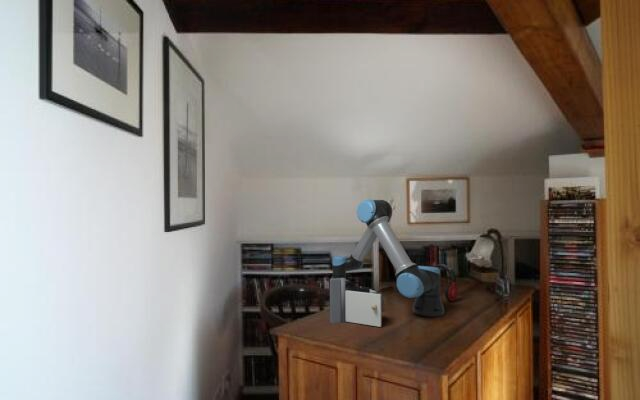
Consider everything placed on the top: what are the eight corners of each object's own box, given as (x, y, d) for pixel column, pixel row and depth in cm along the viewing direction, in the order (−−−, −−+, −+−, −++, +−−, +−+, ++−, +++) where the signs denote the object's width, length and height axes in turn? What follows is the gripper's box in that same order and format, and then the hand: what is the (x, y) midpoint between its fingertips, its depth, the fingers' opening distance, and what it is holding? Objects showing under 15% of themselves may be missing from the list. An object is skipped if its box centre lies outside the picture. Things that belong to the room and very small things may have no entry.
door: (344, 322, 168) (343, 291, 168) (346, 320, 171) (346, 290, 171) (379, 327, 160) (379, 295, 160) (381, 326, 163) (381, 294, 163)
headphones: (460, 301, 207) (460, 265, 207) (450, 304, 200) (450, 267, 201) (434, 295, 220) (433, 261, 221) (423, 297, 214) (423, 263, 215)
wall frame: (331, 323, 168) (331, 279, 168) (329, 322, 170) (329, 278, 170) (346, 322, 170) (346, 278, 170) (344, 320, 172) (343, 277, 173)
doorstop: (370, 298, 183) (385, 286, 168) (374, 316, 178) (391, 305, 164) (353, 299, 180) (368, 287, 165) (358, 318, 175) (372, 307, 161)
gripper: (366, 292, 204) (386, 301, 184) (324, 296, 195) (340, 306, 175) (366, 278, 204) (386, 286, 184) (324, 282, 195) (340, 290, 175)
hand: (364, 296), depth 179 cm, fingers open, 13 cm apart
